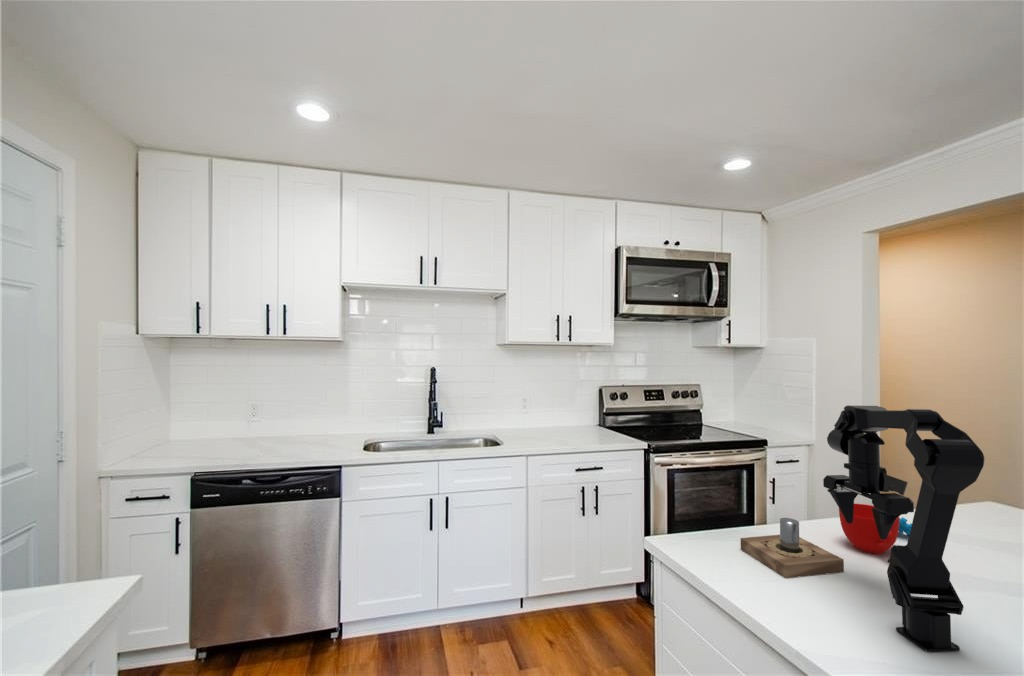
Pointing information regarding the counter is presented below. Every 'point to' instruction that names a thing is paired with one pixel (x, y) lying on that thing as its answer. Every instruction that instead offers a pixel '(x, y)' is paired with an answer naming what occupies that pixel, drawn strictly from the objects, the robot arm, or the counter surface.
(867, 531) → the ceramic cup
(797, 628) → the counter surface
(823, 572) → the bearing housing
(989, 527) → the counter surface
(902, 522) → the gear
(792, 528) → the steel roller
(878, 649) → the counter surface
